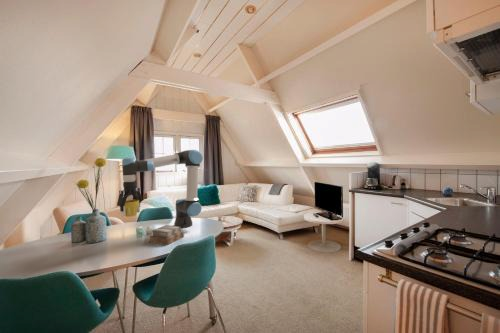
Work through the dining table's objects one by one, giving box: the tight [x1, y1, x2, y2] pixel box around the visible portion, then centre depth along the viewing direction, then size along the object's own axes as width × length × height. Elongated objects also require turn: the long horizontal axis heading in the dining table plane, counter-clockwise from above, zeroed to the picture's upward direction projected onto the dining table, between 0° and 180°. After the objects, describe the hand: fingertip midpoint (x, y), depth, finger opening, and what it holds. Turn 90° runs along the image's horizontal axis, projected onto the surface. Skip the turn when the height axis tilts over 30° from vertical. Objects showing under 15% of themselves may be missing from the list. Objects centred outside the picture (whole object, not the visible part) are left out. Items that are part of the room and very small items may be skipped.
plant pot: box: [124, 199, 139, 218], centre depth 148 cm, size 10×10×10 cm
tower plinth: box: [149, 224, 185, 246], centre depth 157 cm, size 16×16×8 cm
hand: (130, 214), depth 148 cm, fingers closed on plant pot, 10 cm apart
